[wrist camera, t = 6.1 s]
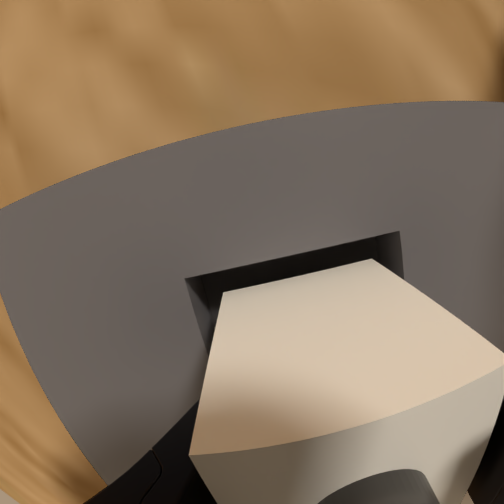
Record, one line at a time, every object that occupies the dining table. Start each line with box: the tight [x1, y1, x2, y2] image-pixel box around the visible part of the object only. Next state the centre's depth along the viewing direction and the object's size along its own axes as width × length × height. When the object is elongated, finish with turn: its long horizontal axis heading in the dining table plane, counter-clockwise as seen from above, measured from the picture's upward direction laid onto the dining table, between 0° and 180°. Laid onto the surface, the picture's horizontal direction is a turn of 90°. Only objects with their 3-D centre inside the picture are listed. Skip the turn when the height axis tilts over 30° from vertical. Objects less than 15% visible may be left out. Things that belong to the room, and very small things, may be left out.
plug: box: [189, 259, 504, 504], centre depth 6 cm, size 4×4×8 cm
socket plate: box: [0, 101, 504, 485], centre depth 10 cm, size 20×13×2 cm, turn 103°
